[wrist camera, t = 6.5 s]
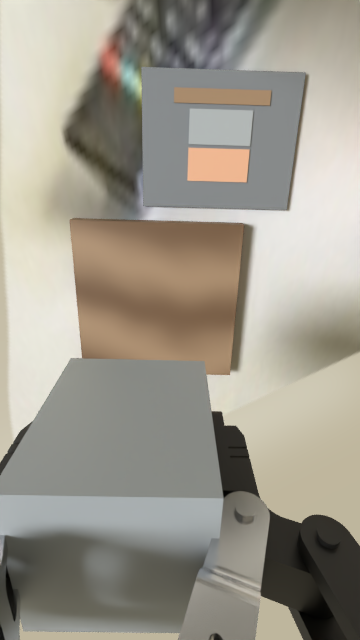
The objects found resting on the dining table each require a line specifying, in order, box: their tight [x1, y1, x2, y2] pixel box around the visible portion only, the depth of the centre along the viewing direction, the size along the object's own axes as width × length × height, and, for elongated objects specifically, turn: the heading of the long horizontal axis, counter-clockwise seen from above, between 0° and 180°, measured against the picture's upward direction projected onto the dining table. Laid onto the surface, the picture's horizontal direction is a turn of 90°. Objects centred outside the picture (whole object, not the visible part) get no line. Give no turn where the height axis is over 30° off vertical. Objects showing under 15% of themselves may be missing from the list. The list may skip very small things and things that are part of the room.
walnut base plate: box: [70, 218, 244, 375], centre depth 26 cm, size 12×12×1 cm
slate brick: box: [0, 358, 224, 633], centre depth 11 cm, size 5×5×6 cm
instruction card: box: [142, 67, 306, 210], centre depth 22 cm, size 8×10×1 cm
